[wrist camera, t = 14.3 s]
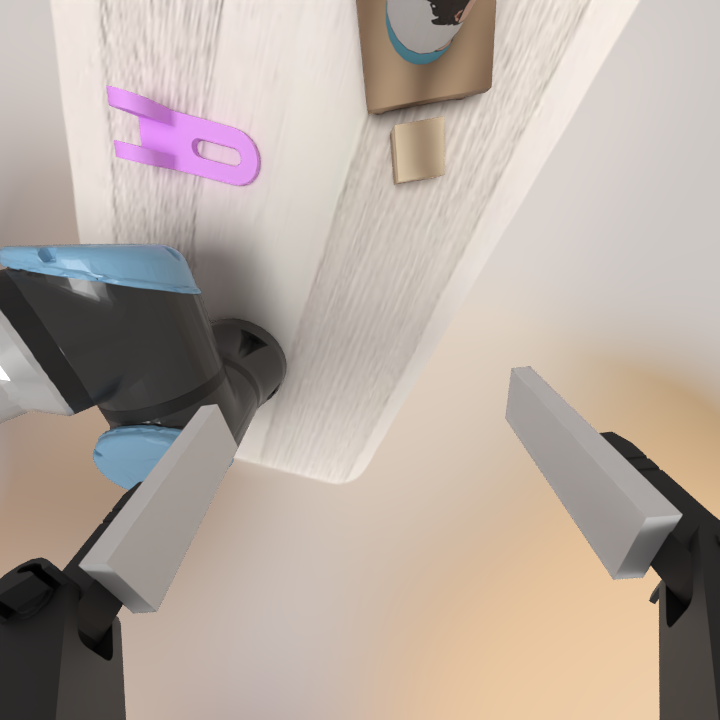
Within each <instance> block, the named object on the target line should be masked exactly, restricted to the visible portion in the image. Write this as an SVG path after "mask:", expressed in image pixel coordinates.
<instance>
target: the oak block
mask: <svg viewBox="0 0 720 720" xmlns="http://www.w3.org/2000/svg"><path fill="white" fill-rule="evenodd" d="M390 140H391V154H392V167H393V180H394V184H399V183H405V182H411V181H417V180H423V179H429V178H435V177H438V176H441V175H445V174H444V116H443V117H437V118H432V119H426V120H421V121H415V122H410V123H404V124H398V125H395V126H394V128H393V130H392V132H391V134H390Z"/></svg>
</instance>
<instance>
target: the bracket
mask: <svg viewBox="0 0 720 720" xmlns="http://www.w3.org/2000/svg"><path fill="white" fill-rule="evenodd" d="M106 87H107V94H108V102H109V105H110V106H112V107H115V108H118V109H120V110H123V111H125V112H128V113H131V114H133V115H136V116H138V117H139V126H140V135H141V145H142V147H140V146H136V145H133V144H129V143H125V142H121V141H117V140H114V145H115V152H116V156H117V157H120V158H123V159H127V160H131V161H135V162H139V163H143V164H148V165H153V166H158V167H164V168H169V169H175V170H179V171H183V172H187V173H191V174H195V175H198V176H202V177H206V178H210V179H214V180H218V181H221V182H225V183H229V184H233V185H241V186H242V185H247V184H250V183H251V182H253V181H254V180H255V179H256V177H257V175H258V173H259V170H260V156H259V152H258V149H257V147H256V145H255V144H254V142H253V141H252V140H251V138H250V137H249V136H247V135H246V134H245V133H243V132H241V131H240V130H238V129H236V128H233V127H229V126H225V125H222V124H218V123H215V122H211V121H208V120H204V119H201V118H197V117H194V116H190V115H186V114H183V113H179V112H176V111H173V110H170V109H168V108H166V107H164V106H162V105H160V104H158V103H156V102H154V101H152V100H150V99H148V98H145V97H143V96H140V95H137V94H134V93H132V92H129V91H126V90H122V89H119V88H116V87H112V86H106ZM201 140H205V141H209V142H212V143H216V144H220V145H223V146H227V147H230V148H234V149H237V150H238V152H239V153H240V156H241V162H240V164H239V165H238V166H236V167H233V166H229V165H225V164H222V163H218V162H214V161H211V160H207V159H204V158H202V157H201V156H200V155H199V153H198V151H197V144H198V142H199V141H201Z"/></svg>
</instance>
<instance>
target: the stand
mask: <svg viewBox="0 0 720 720" xmlns="http://www.w3.org/2000/svg"><path fill="white" fill-rule="evenodd" d="M386 2H387V0H356V5H357V15H358V24H359V34H360V44H361V53H362V63H363V73H364V82H365V92H366V102H367V111H368V114H373V113H375V114H377V115H380V114H382V113H384V111H389V110H395V109H400V108H405V107H411V106H416V105H421V104H427V103H432V102H437V101H443V100H448V99H453V98H455V99H458V100H460V99H463V98H464V97H465V96H469V95H475V94H480V93H486V92H487V91H488V90H489V89H490V88H491V86H492V68H493V49H494V31H495V13H496V0H476V2H475V3H474V5H473V7H472V8H471V10H470V12H469V14H468V15H467V17H466V19H465V20H464V22H463V24H462V26H461V27H460V29H459V31H458V33H457V34H456V36H455V38H454V39H453V41H452V43H451V44H450V46H449V48H448V49H447V50H446V51H445V52H444V53H443V54H442V55H441V56H440V57H439V58H438V59H436V60H434V61H432V62H430V63H428V64H413V63H410V62H408V61H406V60H404V59H403V58H402V57H401V56H400V55H399V54H398V53H397V52H396V51H395V49H394V47H393V45H392V43H391V41H390V39H389V35H388V30H387V26H386Z"/></svg>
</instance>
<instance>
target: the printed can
mask: <svg viewBox="0 0 720 720" xmlns="http://www.w3.org/2000/svg"><path fill="white" fill-rule="evenodd" d="M475 2H476V0H387V2H386V26H387V30H388V35H389V39H390V41H391V43H392V45H393V47H394V49H395V51H396V52H397V53H398V54H399V55H400V56H401V57H402V58H403V59H404V60H406V61H408V62H410V63H413V64H428V63H430V62H432V61H434V60H436V59H438V58H439V57H440V56H441V55H442V54H443V53H444V52H445V51H446V50H447V49H448V48H449V46H450V44H451V43H452V41H453V39H454V38H455V36H456V34H457V33H458V31H459V29H460V27H461V26H462V24H463V22H464V20H465V19H466V17H467V15H468V14H469V12H470V10H471V8H472V7H473V5H474V3H475Z"/></svg>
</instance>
